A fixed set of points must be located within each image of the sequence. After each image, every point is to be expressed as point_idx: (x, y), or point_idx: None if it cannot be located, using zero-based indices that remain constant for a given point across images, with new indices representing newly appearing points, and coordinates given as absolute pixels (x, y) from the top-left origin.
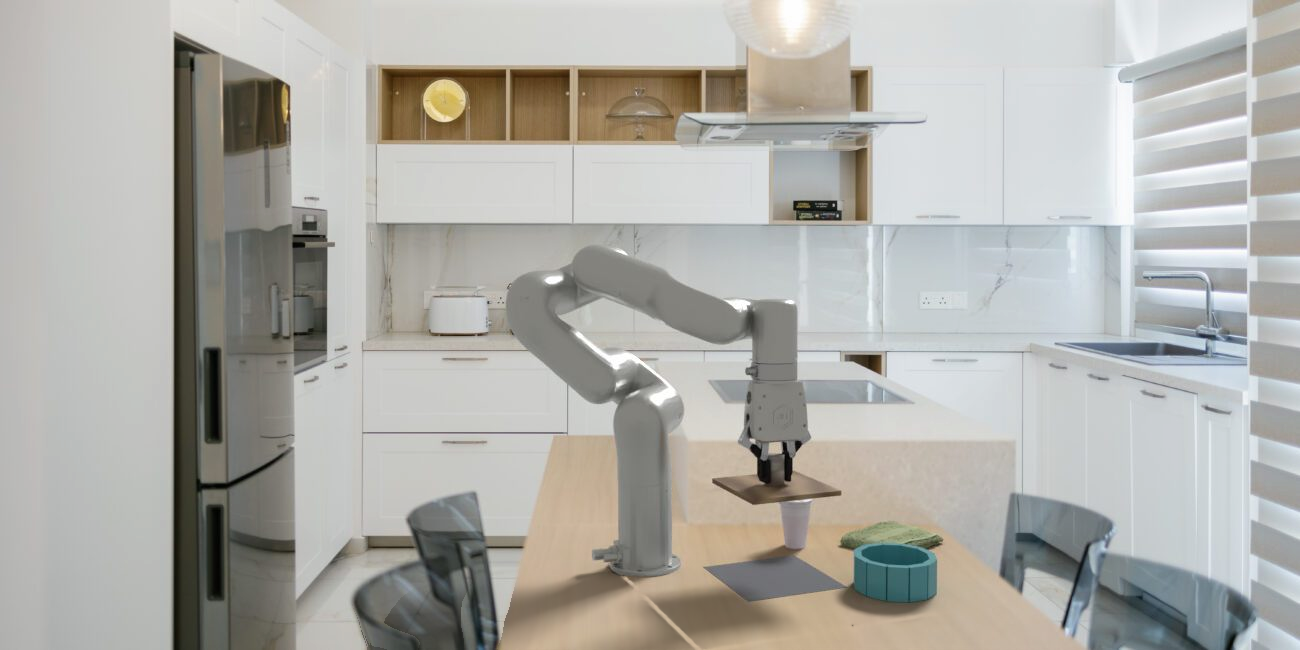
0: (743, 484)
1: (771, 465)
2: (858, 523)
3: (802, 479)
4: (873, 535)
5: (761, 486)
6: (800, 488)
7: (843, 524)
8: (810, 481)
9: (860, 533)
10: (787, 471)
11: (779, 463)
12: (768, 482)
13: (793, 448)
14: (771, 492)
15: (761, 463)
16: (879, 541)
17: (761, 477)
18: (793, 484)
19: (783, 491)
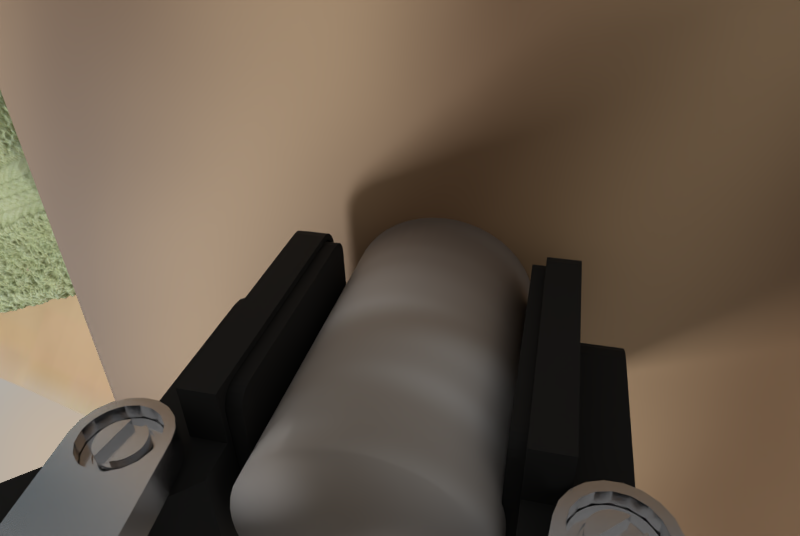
0: (714, 418)
1: (484, 406)
2: (37, 388)
3: (159, 312)
4: (11, 219)
5: (608, 293)
6: (279, 52)
7: (78, 401)
8: (114, 235)
9: (49, 260)
10: (300, 293)
11: (377, 377)
12: (567, 260)
13: (42, 509)
14: (688, 22)
15: (634, 475)
16: (3, 153)
17: (614, 349)
18: (285, 218)
19: (519, 7)
